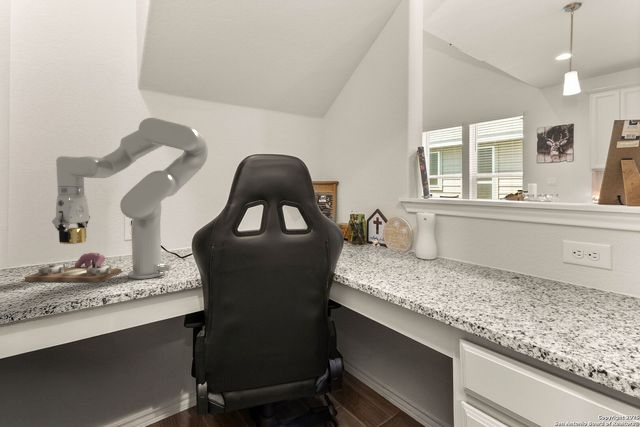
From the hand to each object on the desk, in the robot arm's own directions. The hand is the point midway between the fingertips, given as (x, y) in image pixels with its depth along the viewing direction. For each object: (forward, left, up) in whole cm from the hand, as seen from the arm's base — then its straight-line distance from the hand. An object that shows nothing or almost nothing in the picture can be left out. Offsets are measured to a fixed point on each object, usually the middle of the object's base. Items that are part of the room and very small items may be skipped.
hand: (73, 240), depth 115 cm
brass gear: (0, 0, -1) cm, 1 cm away
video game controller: (+4, -13, -14) cm, 20 cm away
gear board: (0, 0, -14) cm, 14 cm away
